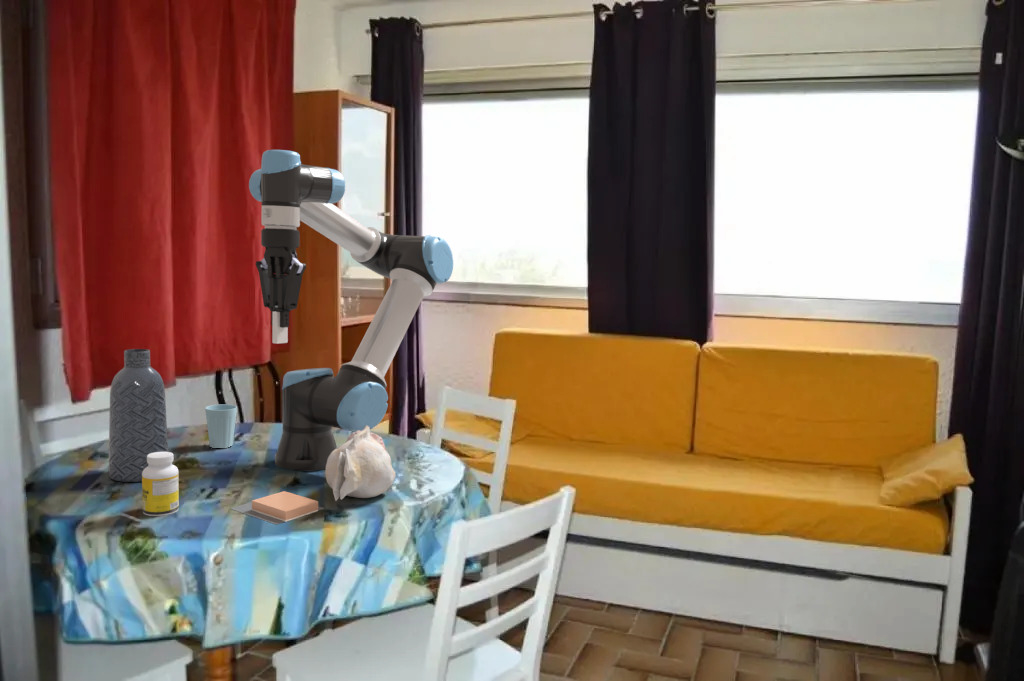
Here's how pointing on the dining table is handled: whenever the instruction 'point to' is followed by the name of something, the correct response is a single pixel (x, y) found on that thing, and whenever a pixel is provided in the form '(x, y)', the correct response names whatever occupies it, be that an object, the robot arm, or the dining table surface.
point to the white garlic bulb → (360, 467)
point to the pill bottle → (160, 485)
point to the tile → (285, 506)
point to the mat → (248, 510)
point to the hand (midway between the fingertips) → (280, 342)
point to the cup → (221, 424)
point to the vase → (136, 417)
